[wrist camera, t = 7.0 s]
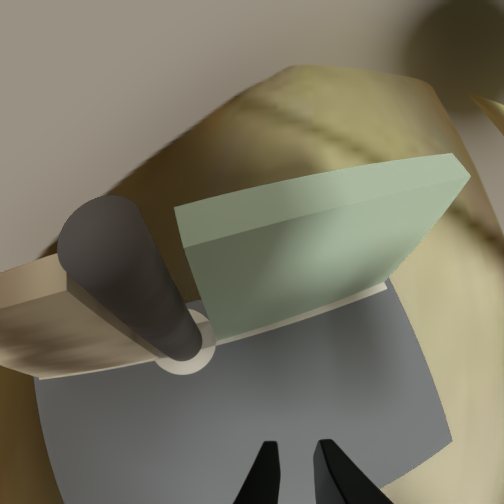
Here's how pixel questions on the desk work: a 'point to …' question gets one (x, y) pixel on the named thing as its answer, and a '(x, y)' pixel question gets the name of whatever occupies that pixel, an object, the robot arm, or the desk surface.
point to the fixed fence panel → (94, 299)
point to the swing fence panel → (311, 237)
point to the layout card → (248, 408)
